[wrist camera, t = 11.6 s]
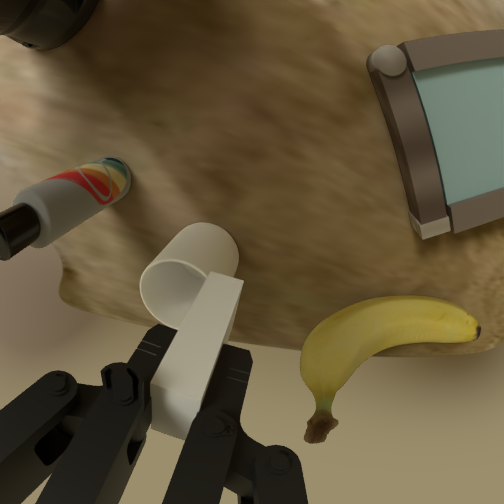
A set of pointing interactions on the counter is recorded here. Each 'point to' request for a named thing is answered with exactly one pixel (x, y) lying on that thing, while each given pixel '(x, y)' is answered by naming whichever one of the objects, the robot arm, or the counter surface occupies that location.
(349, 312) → the banana
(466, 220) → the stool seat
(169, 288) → the cup
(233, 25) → the counter surface
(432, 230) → the folding leg
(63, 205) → the lotion bottle
